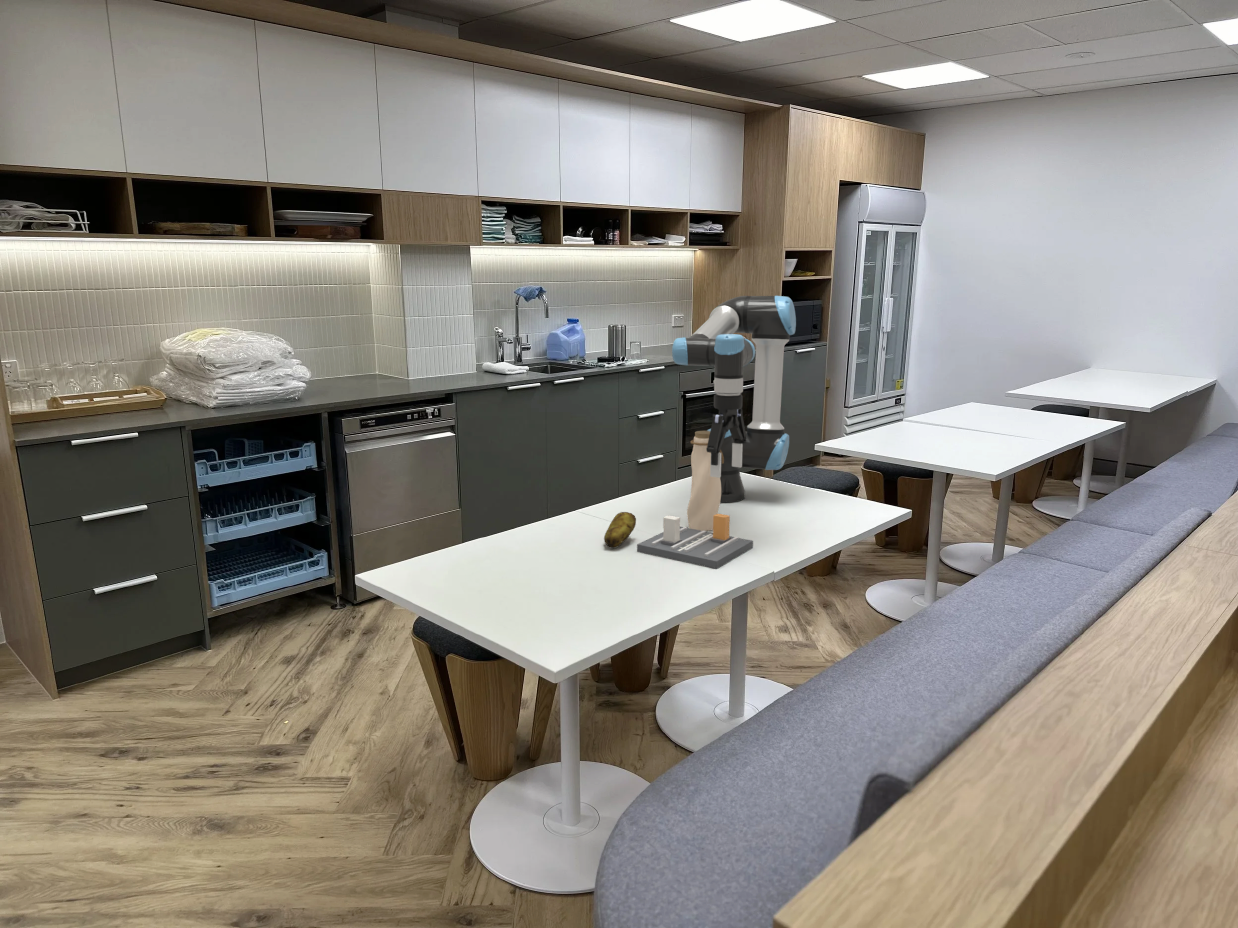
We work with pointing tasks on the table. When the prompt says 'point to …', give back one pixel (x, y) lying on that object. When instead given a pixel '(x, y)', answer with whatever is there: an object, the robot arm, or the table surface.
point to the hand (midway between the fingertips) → (726, 471)
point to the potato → (619, 529)
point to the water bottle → (703, 486)
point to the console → (697, 548)
